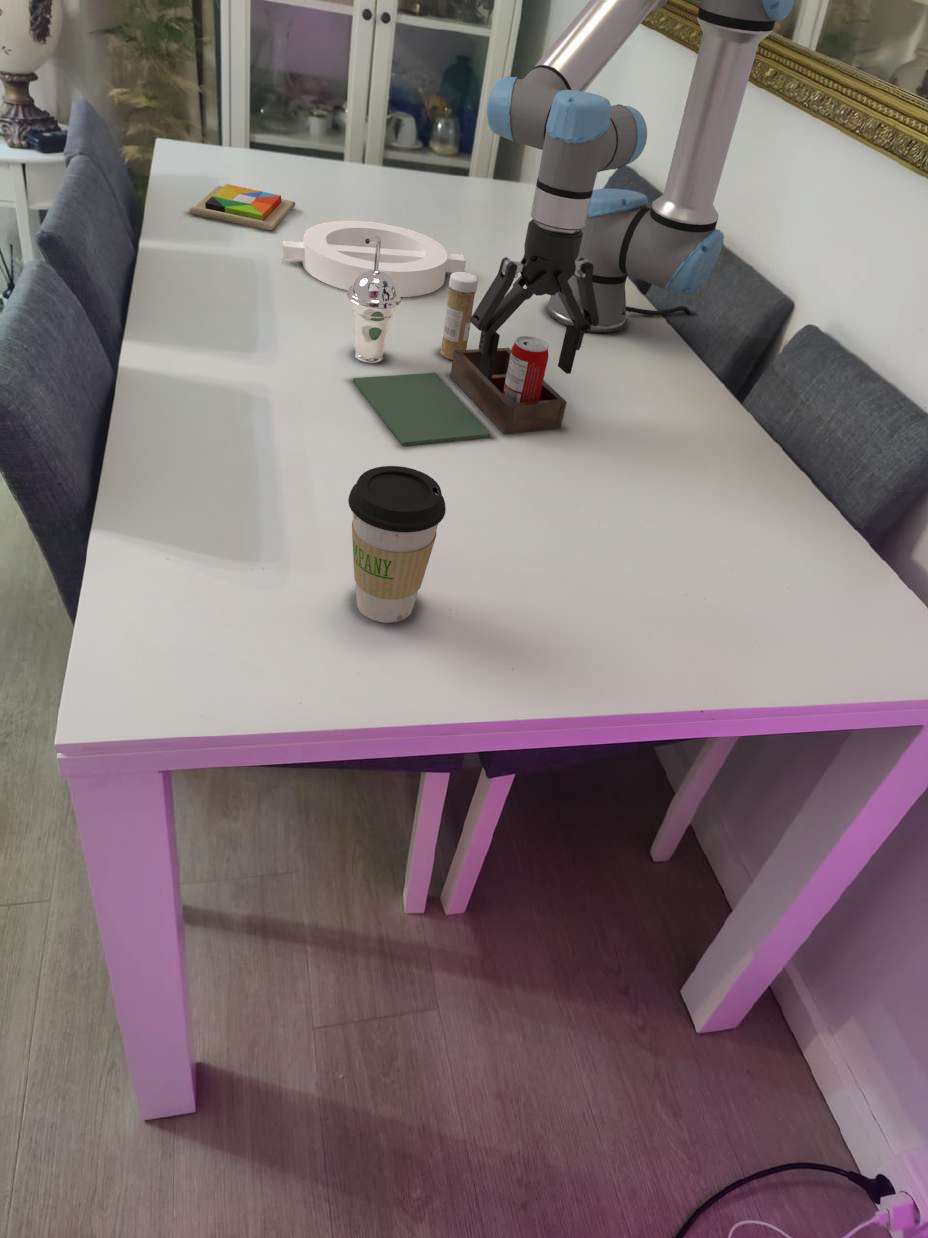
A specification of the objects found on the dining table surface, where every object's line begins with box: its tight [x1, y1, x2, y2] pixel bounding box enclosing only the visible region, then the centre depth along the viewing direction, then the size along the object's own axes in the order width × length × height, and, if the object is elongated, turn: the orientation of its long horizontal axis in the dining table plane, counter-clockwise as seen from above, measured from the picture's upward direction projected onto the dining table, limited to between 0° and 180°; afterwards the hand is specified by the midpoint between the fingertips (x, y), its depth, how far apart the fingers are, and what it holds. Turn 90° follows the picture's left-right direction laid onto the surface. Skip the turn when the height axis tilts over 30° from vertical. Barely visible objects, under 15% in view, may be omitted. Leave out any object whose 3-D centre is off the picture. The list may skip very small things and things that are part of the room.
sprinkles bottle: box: [439, 271, 479, 361], centre depth 149 cm, size 5×5×14 cm
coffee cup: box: [347, 465, 447, 624], centre depth 94 cm, size 10×10×15 cm
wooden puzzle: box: [188, 183, 296, 231], centre depth 192 cm, size 18×19×4 cm
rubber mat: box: [352, 372, 492, 447], centre depth 136 cm, size 14×20×1 cm
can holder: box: [449, 347, 568, 435], centre depth 141 cm, size 10×19×4 cm, turn 25°
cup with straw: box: [346, 236, 402, 364], centre depth 141 cm, size 8×9×20 cm
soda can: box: [503, 335, 549, 403], centre depth 135 cm, size 6×6×12 cm
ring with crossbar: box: [281, 220, 467, 298], centre depth 177 cm, size 28×28×5 cm
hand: (525, 372), depth 135 cm, fingers open, 13 cm apart
